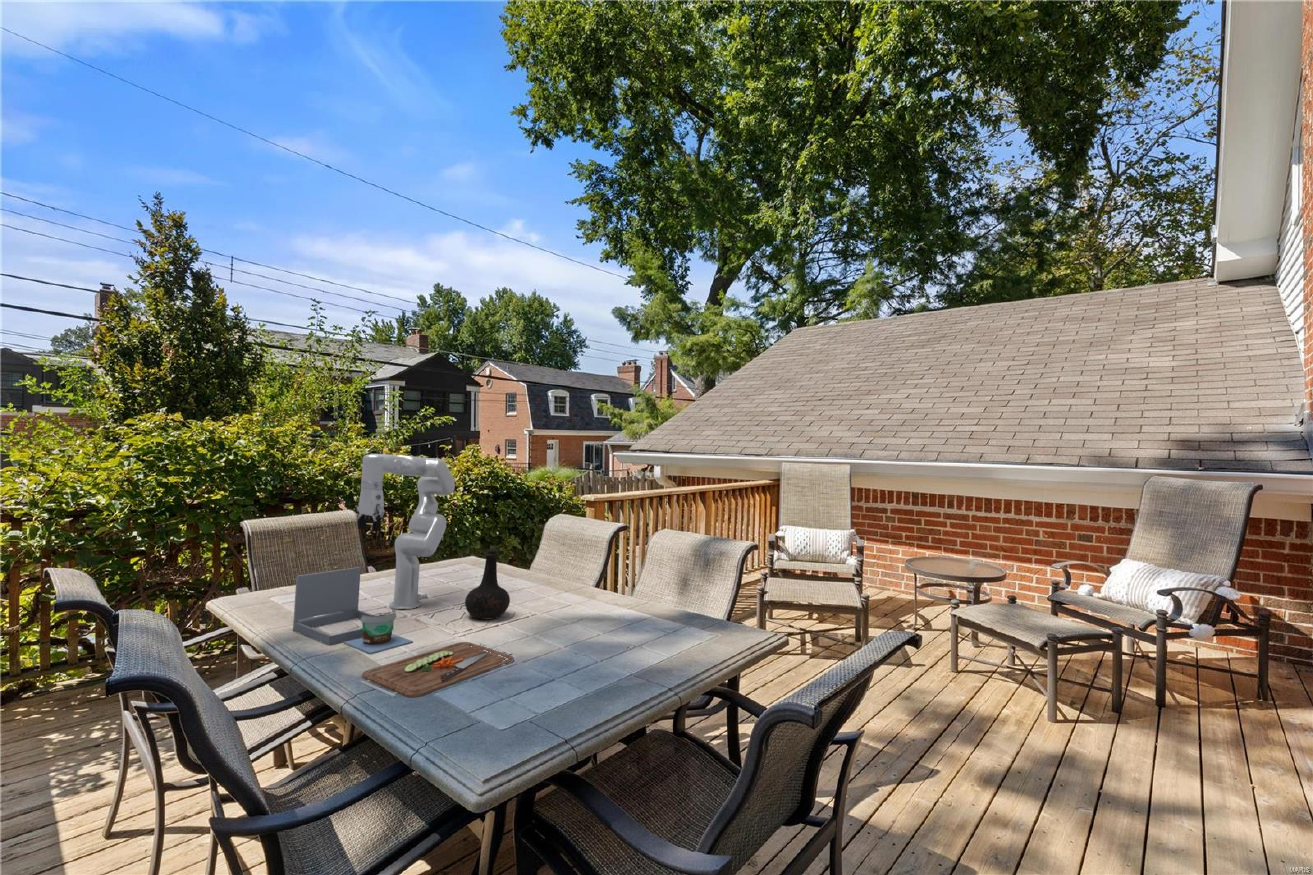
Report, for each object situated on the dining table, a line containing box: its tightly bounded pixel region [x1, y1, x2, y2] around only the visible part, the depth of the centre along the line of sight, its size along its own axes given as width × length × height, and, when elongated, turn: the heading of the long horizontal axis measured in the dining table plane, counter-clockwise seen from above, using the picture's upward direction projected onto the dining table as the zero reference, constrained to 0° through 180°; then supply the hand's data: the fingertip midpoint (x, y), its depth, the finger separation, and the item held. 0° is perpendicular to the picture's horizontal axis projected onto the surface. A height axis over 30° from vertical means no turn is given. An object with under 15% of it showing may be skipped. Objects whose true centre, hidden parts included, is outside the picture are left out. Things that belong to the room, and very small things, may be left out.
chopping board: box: [360, 641, 515, 698], centre depth 187 cm, size 45×27×3 cm, turn 148°
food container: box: [360, 609, 397, 645], centre depth 206 cm, size 12×6×10 cm, turn 145°
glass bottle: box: [464, 548, 511, 619], centre depth 245 cm, size 18×18×28 cm
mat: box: [343, 633, 414, 655], centre depth 206 cm, size 16×16×1 cm
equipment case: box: [292, 566, 395, 646], centre depth 218 cm, size 24×25×20 cm
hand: (369, 529), depth 228 cm, fingers open, 9 cm apart
